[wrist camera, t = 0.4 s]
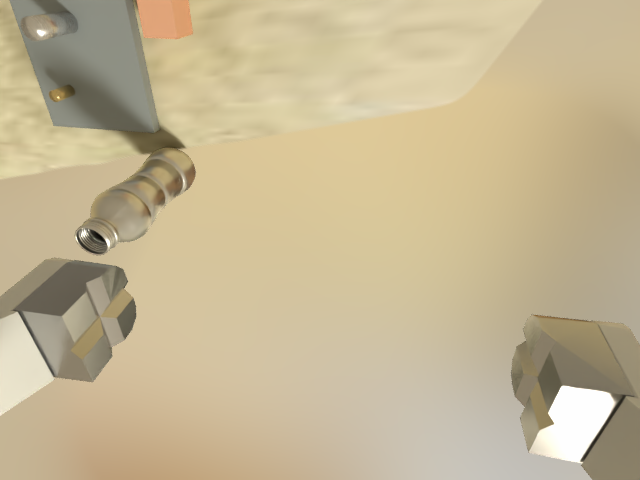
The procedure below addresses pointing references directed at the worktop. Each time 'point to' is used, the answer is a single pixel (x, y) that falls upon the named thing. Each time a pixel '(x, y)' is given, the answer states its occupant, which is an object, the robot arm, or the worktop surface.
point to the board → (93, 66)
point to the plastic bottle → (135, 201)
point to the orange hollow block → (165, 18)
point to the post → (50, 28)
